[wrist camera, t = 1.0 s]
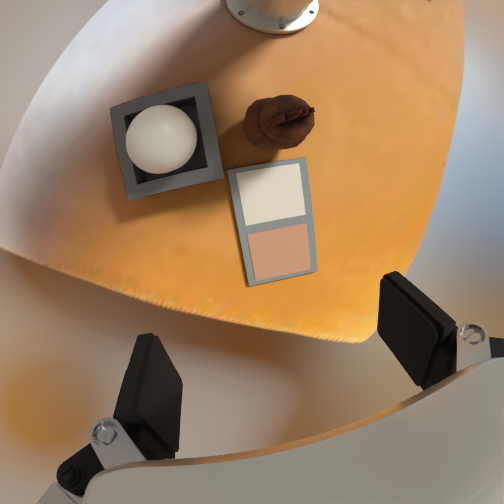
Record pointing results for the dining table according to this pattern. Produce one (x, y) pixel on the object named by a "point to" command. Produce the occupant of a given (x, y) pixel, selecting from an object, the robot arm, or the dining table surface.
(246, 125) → the wooden figurine
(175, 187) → the dome housing
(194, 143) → the dome
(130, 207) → the dining table surface
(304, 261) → the grey flat tray
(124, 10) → the dining table surface
